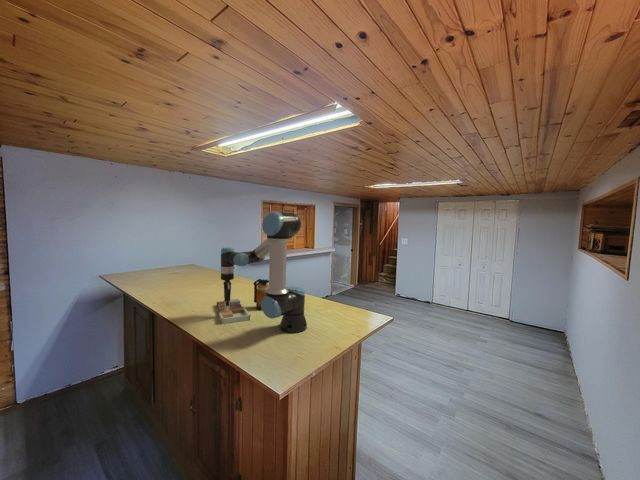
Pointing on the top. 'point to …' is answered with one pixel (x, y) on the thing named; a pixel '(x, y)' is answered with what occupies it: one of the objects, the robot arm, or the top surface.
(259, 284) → the canister
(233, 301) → the tile
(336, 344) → the top surface
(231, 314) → the tile
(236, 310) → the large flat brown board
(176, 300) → the top surface
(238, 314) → the tray
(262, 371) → the top surface
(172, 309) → the top surface
